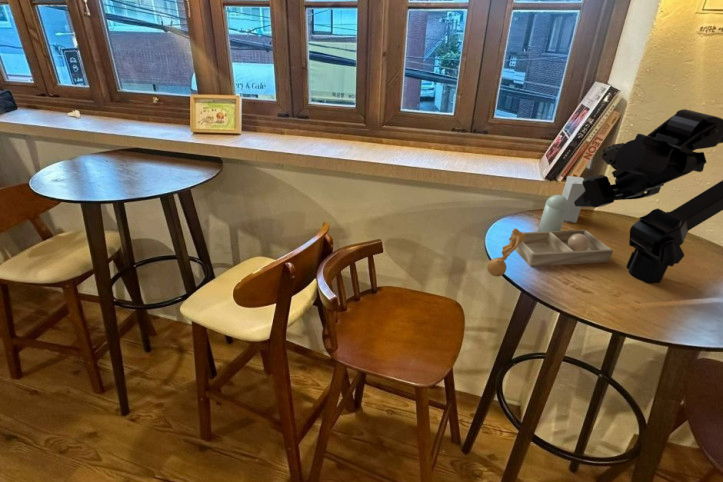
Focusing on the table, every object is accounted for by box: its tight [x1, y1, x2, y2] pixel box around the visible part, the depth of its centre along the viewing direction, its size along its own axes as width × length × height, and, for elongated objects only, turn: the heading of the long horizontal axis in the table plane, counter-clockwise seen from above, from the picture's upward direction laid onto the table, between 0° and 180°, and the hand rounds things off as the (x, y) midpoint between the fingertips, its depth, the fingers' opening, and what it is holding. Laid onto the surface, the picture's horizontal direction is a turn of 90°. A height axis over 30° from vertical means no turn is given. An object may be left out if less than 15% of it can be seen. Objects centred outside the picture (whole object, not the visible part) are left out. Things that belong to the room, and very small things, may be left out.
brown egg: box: [568, 234, 589, 251], centre depth 97 cm, size 5×5×5 cm
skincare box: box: [561, 175, 585, 224], centre depth 112 cm, size 6×4×12 cm
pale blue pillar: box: [537, 194, 568, 232], centre depth 103 cm, size 5×5×12 cm
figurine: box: [486, 228, 526, 277], centre depth 86 cm, size 8×6×12 cm
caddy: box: [508, 229, 614, 267], centre depth 96 cm, size 10×20×4 cm, turn 99°
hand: (589, 201), depth 93 cm, fingers open, 9 cm apart
